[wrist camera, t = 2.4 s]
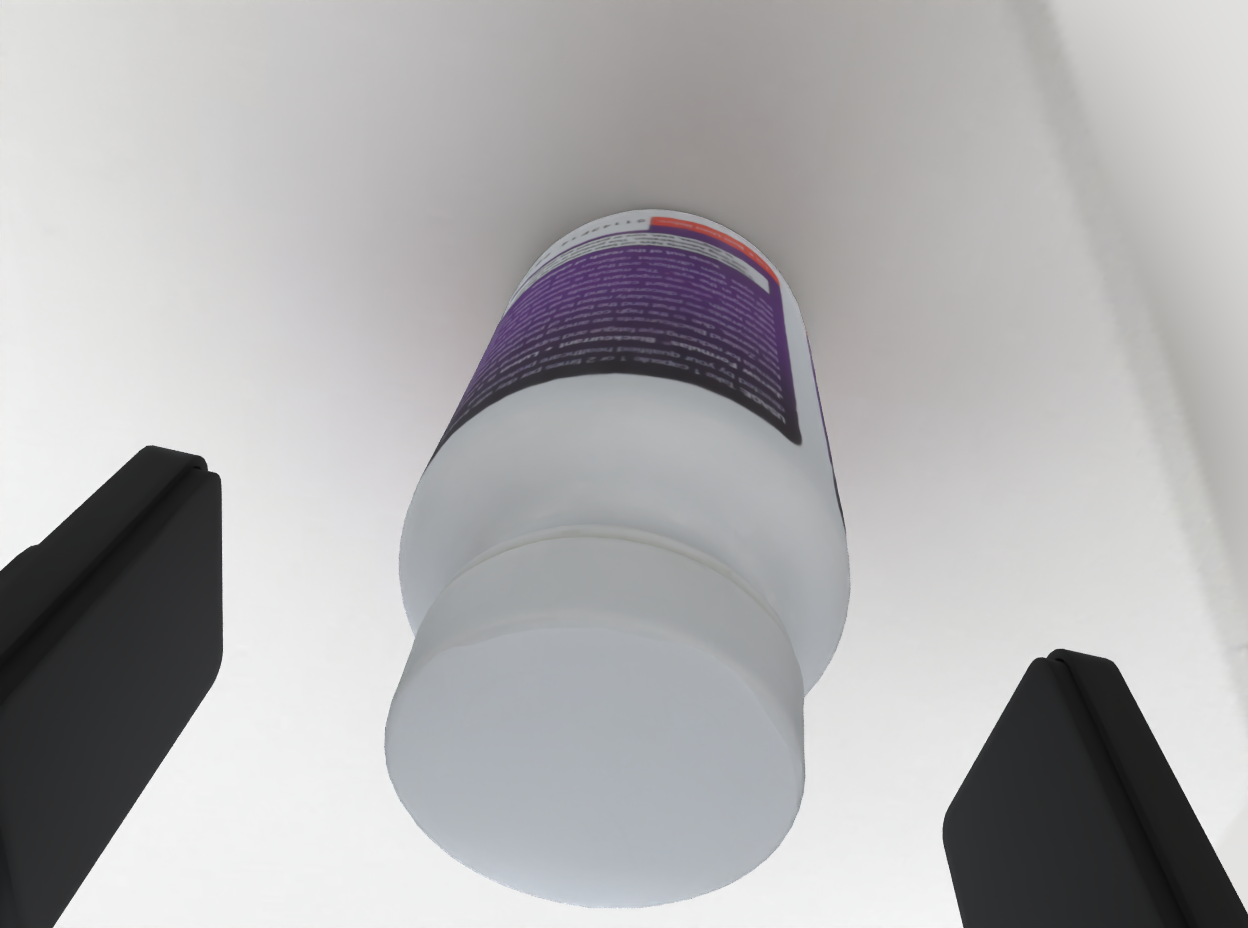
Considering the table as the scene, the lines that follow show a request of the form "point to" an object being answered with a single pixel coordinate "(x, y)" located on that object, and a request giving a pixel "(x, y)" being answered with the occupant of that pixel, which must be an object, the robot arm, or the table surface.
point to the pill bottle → (623, 575)
